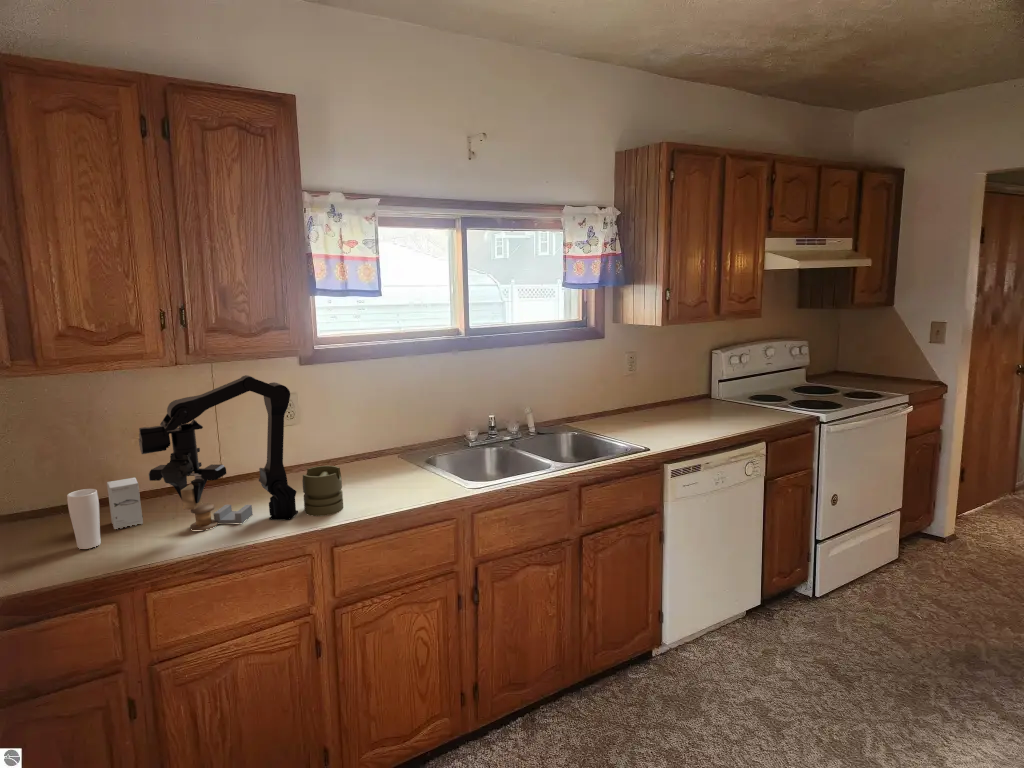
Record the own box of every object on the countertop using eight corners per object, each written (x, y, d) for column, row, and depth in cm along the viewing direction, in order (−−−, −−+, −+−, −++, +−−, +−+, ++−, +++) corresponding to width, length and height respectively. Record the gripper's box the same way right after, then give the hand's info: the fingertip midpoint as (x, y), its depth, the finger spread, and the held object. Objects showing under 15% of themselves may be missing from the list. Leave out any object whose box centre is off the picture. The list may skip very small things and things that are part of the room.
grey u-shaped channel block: (252, 515, 195) (251, 504, 195) (241, 524, 188) (240, 513, 188) (226, 514, 196) (225, 504, 195) (214, 523, 189) (213, 513, 188)
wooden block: (202, 503, 181) (200, 484, 180) (194, 509, 176) (191, 490, 175) (192, 503, 181) (189, 484, 180) (183, 509, 176) (180, 490, 175)
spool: (222, 521, 190) (220, 502, 189) (209, 531, 183) (207, 511, 182) (198, 521, 190) (196, 502, 189) (185, 531, 184) (183, 511, 183)
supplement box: (114, 530, 185) (108, 488, 183) (111, 523, 191) (106, 481, 189) (143, 524, 189) (138, 482, 187) (140, 517, 195) (135, 476, 193)
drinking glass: (71, 546, 174) (63, 493, 172) (100, 539, 179) (93, 486, 177) (77, 554, 170) (69, 498, 167) (107, 546, 174) (100, 492, 172)
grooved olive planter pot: (297, 477, 191) (306, 466, 202) (300, 516, 193) (309, 503, 204) (336, 476, 192) (344, 465, 203) (339, 515, 194) (346, 502, 205)
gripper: (132, 455, 168) (139, 513, 170) (202, 455, 166) (209, 513, 169) (158, 444, 179) (164, 498, 181) (224, 443, 177) (230, 498, 180)
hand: (191, 502), depth 178 cm, fingers closed on wooden block, 3 cm apart
